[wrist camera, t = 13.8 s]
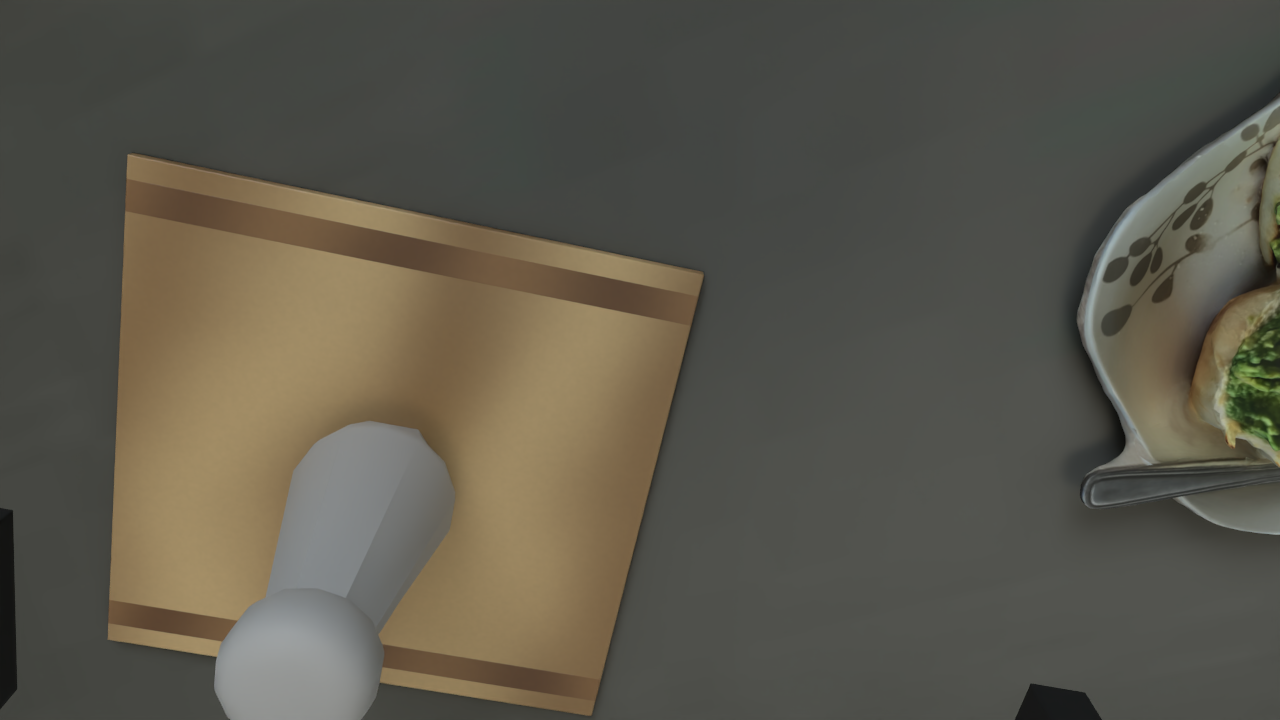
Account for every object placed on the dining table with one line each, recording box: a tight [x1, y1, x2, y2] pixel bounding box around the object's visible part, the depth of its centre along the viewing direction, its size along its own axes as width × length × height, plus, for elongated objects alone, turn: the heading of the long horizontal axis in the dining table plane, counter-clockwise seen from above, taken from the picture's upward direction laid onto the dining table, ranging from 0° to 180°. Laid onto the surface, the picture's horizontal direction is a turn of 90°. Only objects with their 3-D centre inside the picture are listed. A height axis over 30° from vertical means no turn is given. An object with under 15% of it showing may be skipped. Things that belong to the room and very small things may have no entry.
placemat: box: [108, 153, 704, 716], centre depth 38 cm, size 20×20×1 cm
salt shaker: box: [214, 421, 455, 720], centre depth 32 cm, size 6×6×13 cm
